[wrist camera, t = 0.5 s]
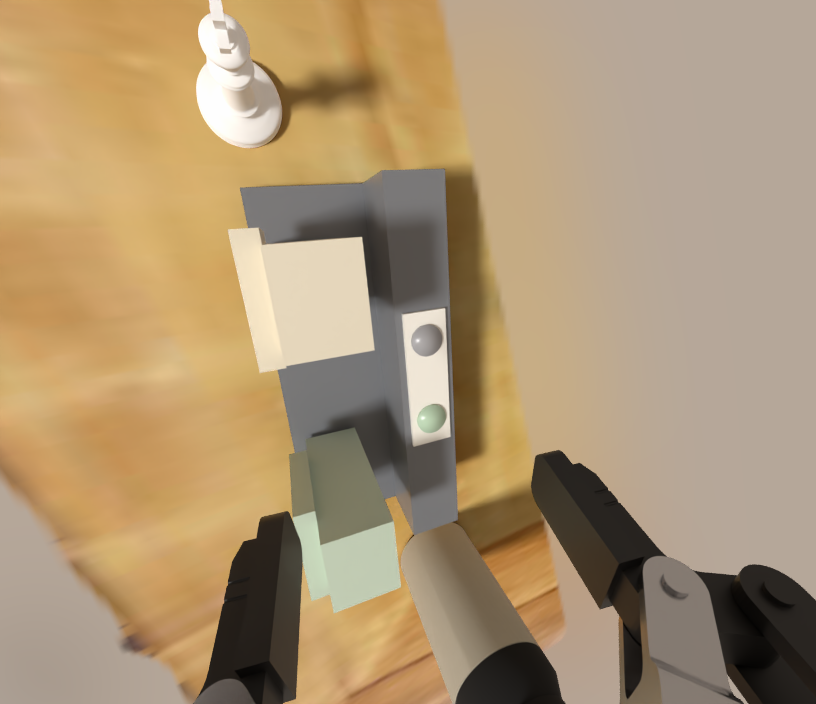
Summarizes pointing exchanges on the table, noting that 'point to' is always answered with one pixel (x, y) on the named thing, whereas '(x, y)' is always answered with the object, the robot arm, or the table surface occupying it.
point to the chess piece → (234, 84)
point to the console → (381, 333)
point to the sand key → (303, 297)
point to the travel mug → (474, 624)
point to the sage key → (342, 521)
